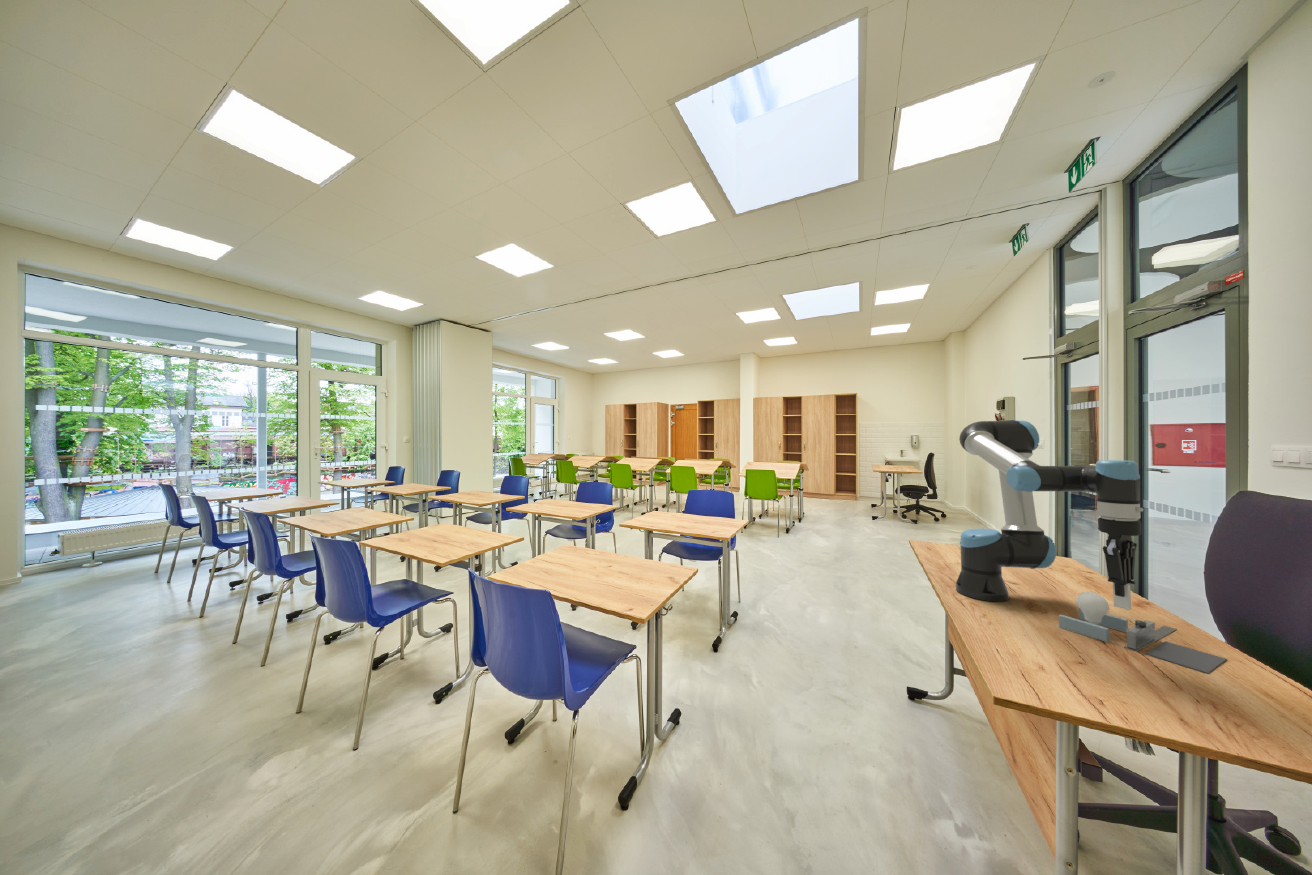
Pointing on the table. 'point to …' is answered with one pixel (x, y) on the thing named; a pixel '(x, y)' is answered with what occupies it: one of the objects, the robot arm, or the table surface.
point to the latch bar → (1140, 634)
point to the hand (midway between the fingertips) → (1122, 607)
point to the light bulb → (1092, 606)
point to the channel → (1093, 625)
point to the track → (1156, 636)
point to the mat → (1186, 657)
